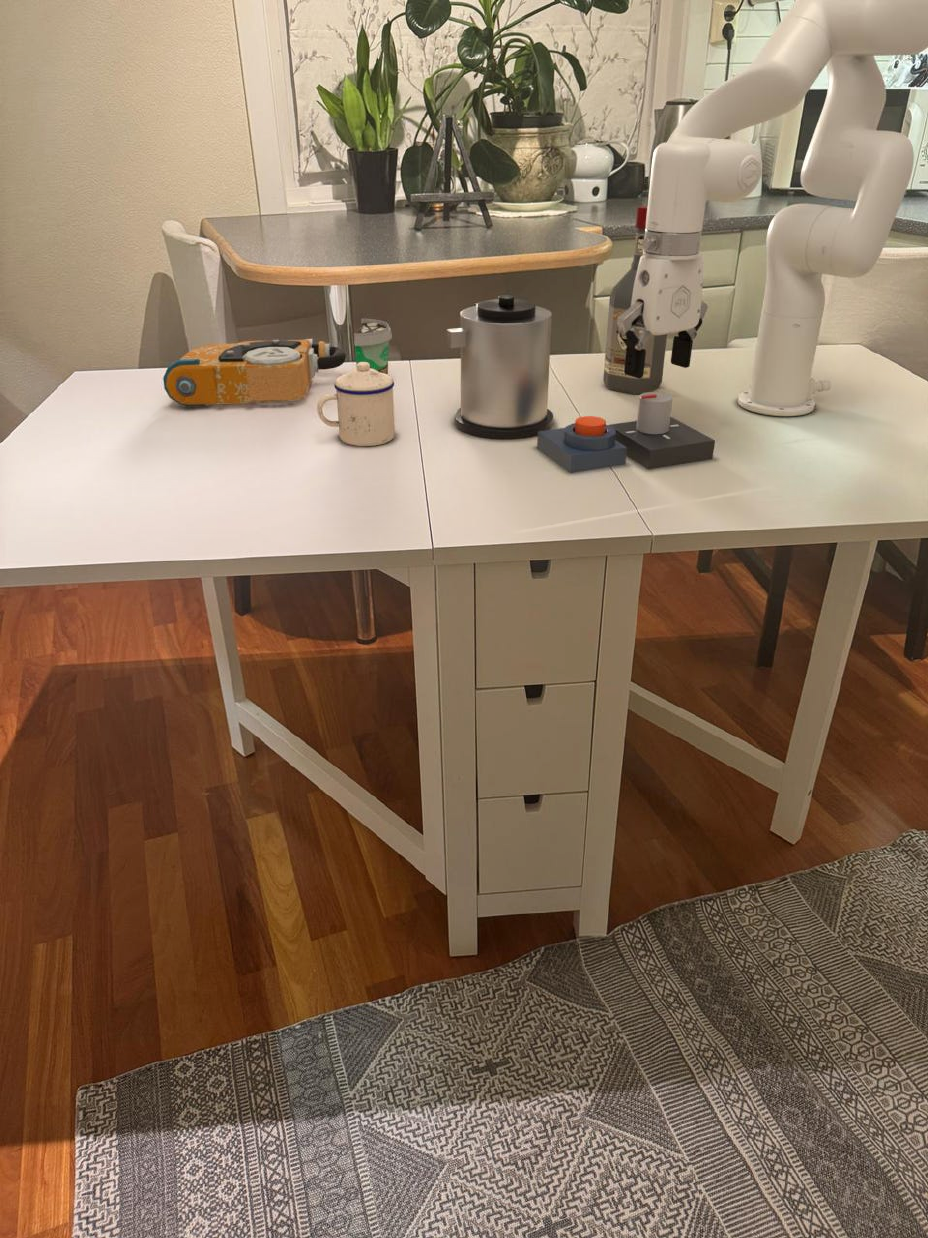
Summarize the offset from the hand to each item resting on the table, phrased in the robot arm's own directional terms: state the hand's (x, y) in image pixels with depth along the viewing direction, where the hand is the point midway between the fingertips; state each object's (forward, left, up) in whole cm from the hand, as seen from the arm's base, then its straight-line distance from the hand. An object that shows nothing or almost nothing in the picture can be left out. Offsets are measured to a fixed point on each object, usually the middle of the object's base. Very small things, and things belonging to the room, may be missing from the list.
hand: (657, 370), depth 132 cm
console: (-1, +1, -12) cm, 12 cm away
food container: (+28, -50, -12) cm, 58 cm away
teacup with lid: (+40, -21, -12) cm, 47 cm away
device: (+49, -52, -12) cm, 72 cm away
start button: (+11, 0, -8) cm, 13 cm away
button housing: (+11, -1, -12) cm, 16 cm away
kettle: (+16, -21, -12) cm, 29 cm away
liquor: (-14, -29, -12) cm, 35 cm away
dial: (0, 0, -9) cm, 9 cm away
